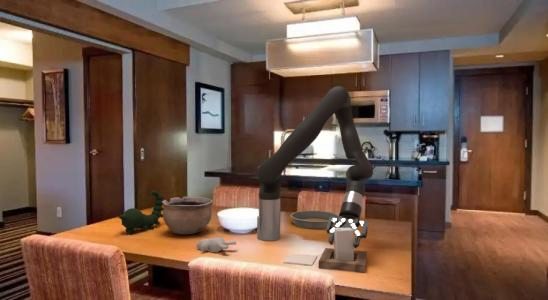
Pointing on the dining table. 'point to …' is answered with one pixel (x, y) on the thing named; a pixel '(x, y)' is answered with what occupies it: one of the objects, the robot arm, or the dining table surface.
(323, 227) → the cake pan
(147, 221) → the toy figurine
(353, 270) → the frame
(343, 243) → the skincare box
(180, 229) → the ceramic bowl
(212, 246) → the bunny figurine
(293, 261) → the ceramic tile
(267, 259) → the dining table surface
